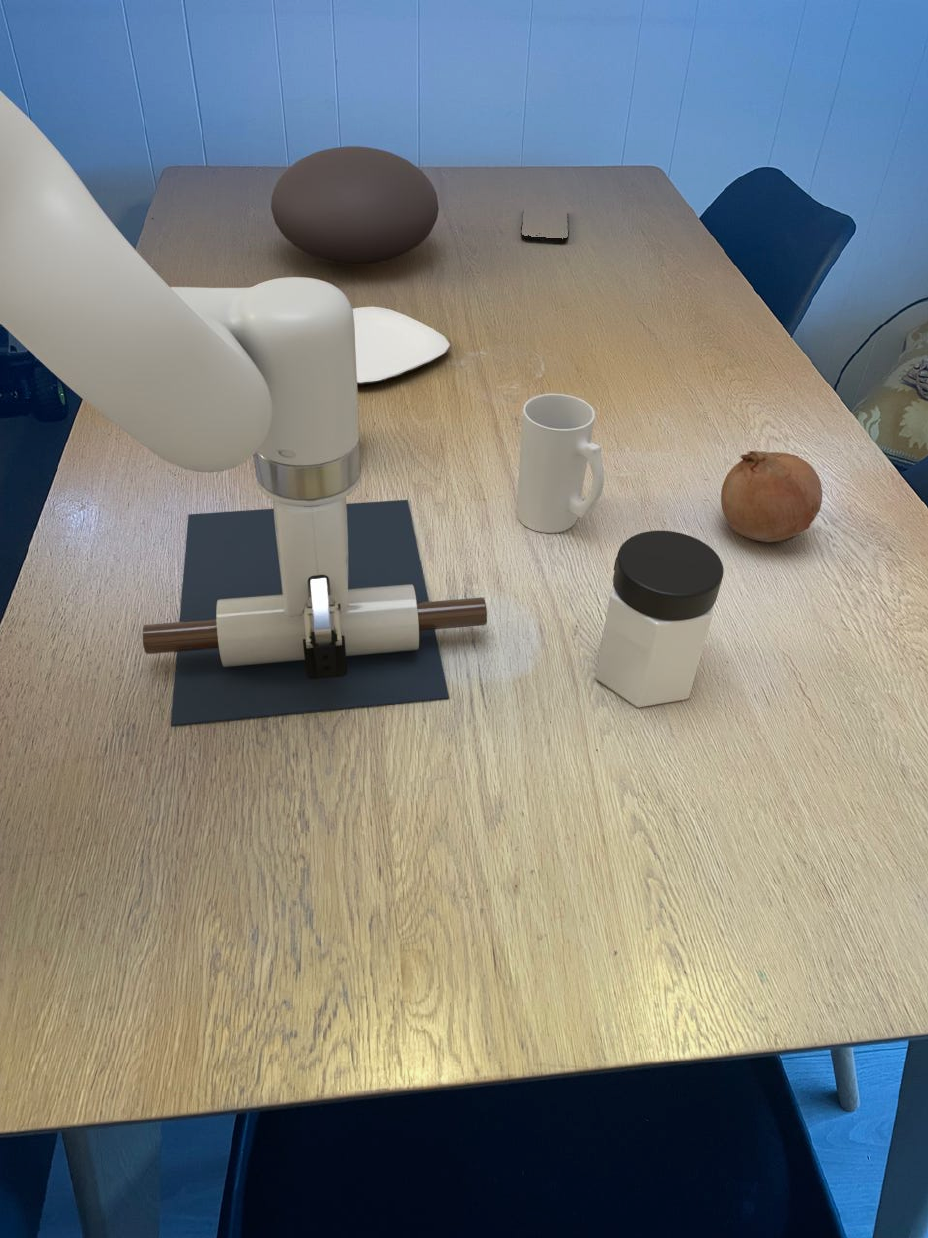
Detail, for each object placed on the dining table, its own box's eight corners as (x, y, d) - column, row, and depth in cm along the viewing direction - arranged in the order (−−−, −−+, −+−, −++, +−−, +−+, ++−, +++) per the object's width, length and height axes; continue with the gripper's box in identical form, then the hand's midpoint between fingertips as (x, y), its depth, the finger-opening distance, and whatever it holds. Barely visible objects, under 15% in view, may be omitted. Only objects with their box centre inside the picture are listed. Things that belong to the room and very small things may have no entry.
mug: (500, 510, 96) (508, 405, 88) (549, 489, 99) (561, 386, 91) (565, 560, 90) (580, 454, 82) (615, 536, 93) (635, 431, 85)
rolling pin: (477, 615, 84) (480, 565, 80) (489, 657, 79) (492, 606, 76) (154, 642, 79) (142, 591, 76) (148, 688, 75) (135, 636, 72)
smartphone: (569, 206, 161) (569, 238, 150) (568, 212, 161) (568, 244, 150) (523, 203, 161) (520, 234, 150) (523, 209, 162) (519, 240, 151)
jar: (673, 631, 83) (701, 522, 75) (713, 697, 77) (748, 586, 69) (578, 646, 81) (596, 536, 73) (612, 714, 75) (635, 603, 67)
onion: (715, 551, 97) (689, 469, 92) (779, 503, 99) (757, 420, 94) (785, 574, 89) (760, 486, 84) (852, 522, 91) (832, 432, 86)
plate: (466, 356, 121) (466, 343, 120) (358, 402, 111) (357, 389, 110) (374, 310, 130) (374, 298, 129) (268, 349, 120) (266, 336, 119)
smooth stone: (250, 242, 146) (237, 140, 136) (388, 217, 157) (387, 119, 147) (320, 301, 131) (312, 190, 121) (468, 268, 142) (472, 163, 132)
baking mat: (449, 699, 76) (449, 697, 76) (171, 726, 73) (170, 724, 73) (407, 501, 96) (407, 499, 96) (188, 515, 93) (188, 514, 93)
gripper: (254, 402, 72) (276, 572, 84) (254, 536, 60) (280, 715, 71) (351, 397, 73) (359, 566, 85) (371, 528, 61) (378, 705, 72)
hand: (323, 634), depth 78 cm, fingers open, 9 cm apart
